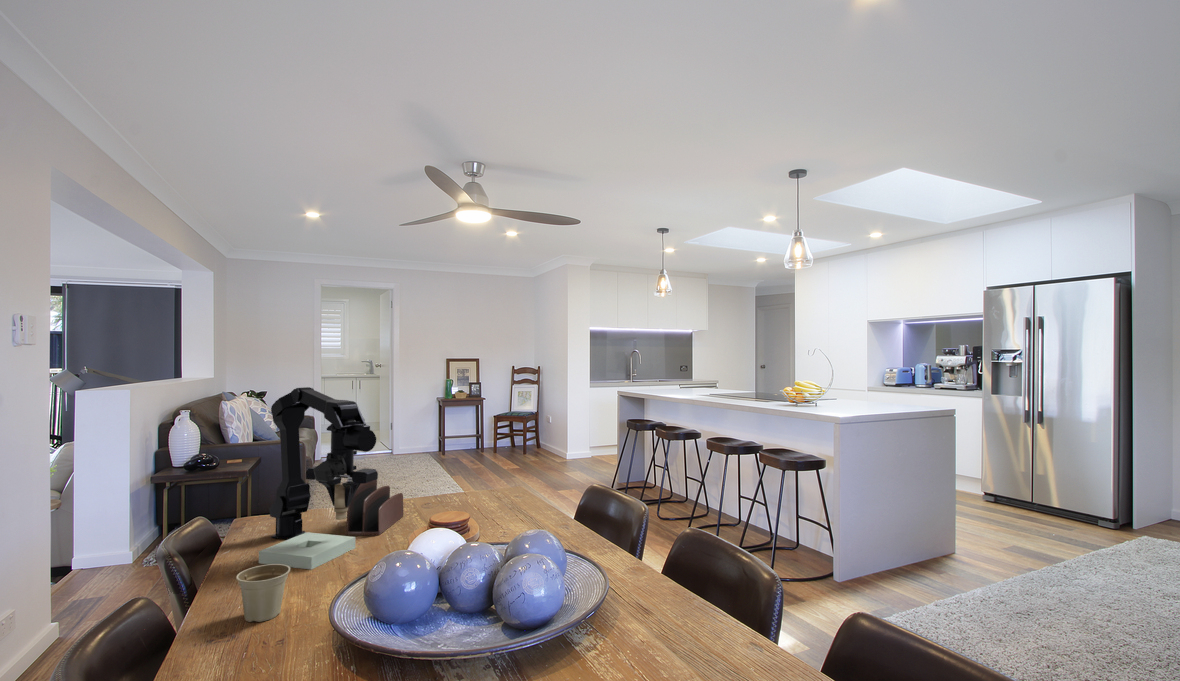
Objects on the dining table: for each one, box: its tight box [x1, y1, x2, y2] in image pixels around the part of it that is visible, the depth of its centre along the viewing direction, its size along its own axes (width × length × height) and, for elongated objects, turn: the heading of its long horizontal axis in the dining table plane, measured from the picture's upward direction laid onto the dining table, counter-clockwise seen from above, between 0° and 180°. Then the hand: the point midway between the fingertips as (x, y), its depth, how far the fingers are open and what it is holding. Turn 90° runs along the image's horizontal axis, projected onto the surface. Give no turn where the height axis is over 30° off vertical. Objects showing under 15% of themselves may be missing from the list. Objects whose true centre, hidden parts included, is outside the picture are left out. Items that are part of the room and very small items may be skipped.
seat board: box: [258, 531, 356, 570], centre depth 147 cm, size 16×16×3 cm
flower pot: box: [235, 564, 291, 623], centre depth 113 cm, size 9×9×9 cm
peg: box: [333, 482, 348, 521], centre depth 152 cm, size 4×4×9 cm
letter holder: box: [345, 479, 405, 536], centre depth 174 cm, size 10×20×14 cm, turn 178°
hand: (341, 506), depth 152 cm, fingers closed on peg, 3 cm apart
